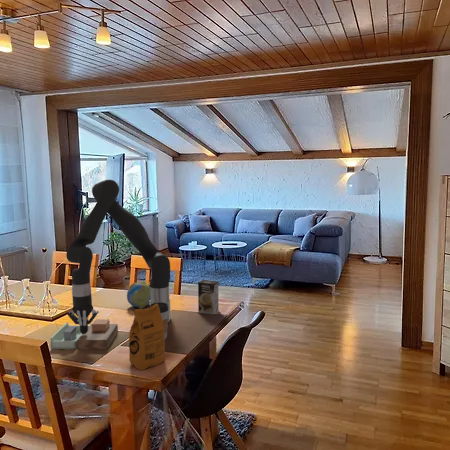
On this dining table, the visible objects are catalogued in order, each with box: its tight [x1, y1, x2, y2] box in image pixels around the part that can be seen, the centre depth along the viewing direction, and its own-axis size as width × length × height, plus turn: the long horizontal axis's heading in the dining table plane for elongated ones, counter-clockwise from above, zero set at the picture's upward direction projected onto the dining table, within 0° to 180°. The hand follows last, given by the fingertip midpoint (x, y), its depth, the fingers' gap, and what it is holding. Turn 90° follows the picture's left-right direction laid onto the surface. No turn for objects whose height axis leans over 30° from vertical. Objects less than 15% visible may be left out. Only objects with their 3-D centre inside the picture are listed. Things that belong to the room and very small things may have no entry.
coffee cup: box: [148, 302, 169, 340], centre depth 186 cm, size 8×8×15 cm
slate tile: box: [64, 327, 77, 341], centre depth 181 cm, size 6×6×3 cm
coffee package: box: [128, 304, 166, 371], centre depth 162 cm, size 10×12×22 cm
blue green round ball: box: [126, 281, 150, 309], centre depth 230 cm, size 14×16×15 cm
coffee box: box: [197, 279, 220, 316], centre depth 220 cm, size 9×6×16 cm
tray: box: [49, 322, 90, 351], centre depth 185 cm, size 10×18×5 cm, turn 0°
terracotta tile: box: [91, 318, 111, 331], centre depth 188 cm, size 6×6×3 cm
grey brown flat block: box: [77, 323, 119, 350], centre depth 185 cm, size 12×18×4 cm, turn 0°
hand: (84, 333), depth 181 cm, fingers closed
